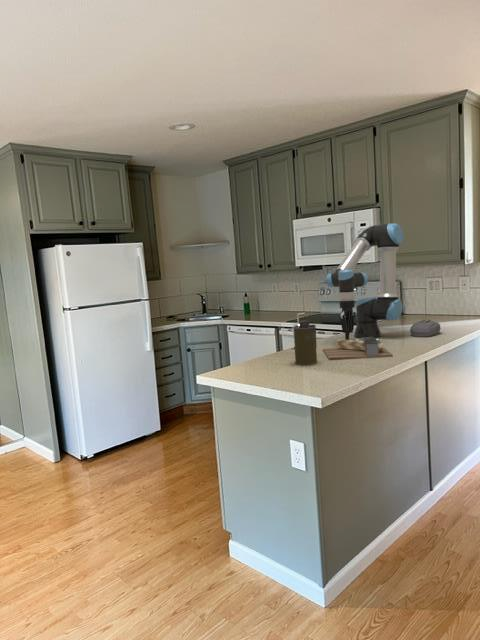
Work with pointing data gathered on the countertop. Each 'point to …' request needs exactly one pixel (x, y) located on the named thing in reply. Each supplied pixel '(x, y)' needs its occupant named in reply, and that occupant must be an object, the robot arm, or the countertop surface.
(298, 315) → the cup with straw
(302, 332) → the canister
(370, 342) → the block
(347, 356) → the base plate
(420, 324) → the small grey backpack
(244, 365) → the countertop surface
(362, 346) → the link
